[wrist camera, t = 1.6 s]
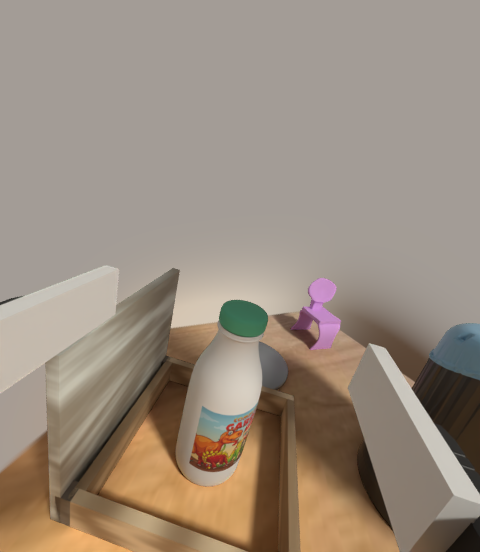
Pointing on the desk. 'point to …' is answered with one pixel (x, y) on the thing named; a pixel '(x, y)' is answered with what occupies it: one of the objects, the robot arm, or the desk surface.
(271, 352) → the pad
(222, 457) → the milk bottle
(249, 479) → the desk surface
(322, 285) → the toy chair
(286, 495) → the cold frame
